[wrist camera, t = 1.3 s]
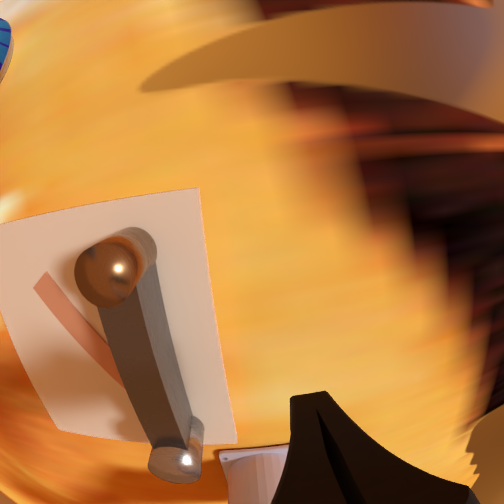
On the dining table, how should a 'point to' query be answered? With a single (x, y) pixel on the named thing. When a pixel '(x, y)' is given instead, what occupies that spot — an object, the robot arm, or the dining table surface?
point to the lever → (143, 348)
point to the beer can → (5, 47)
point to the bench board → (88, 320)
